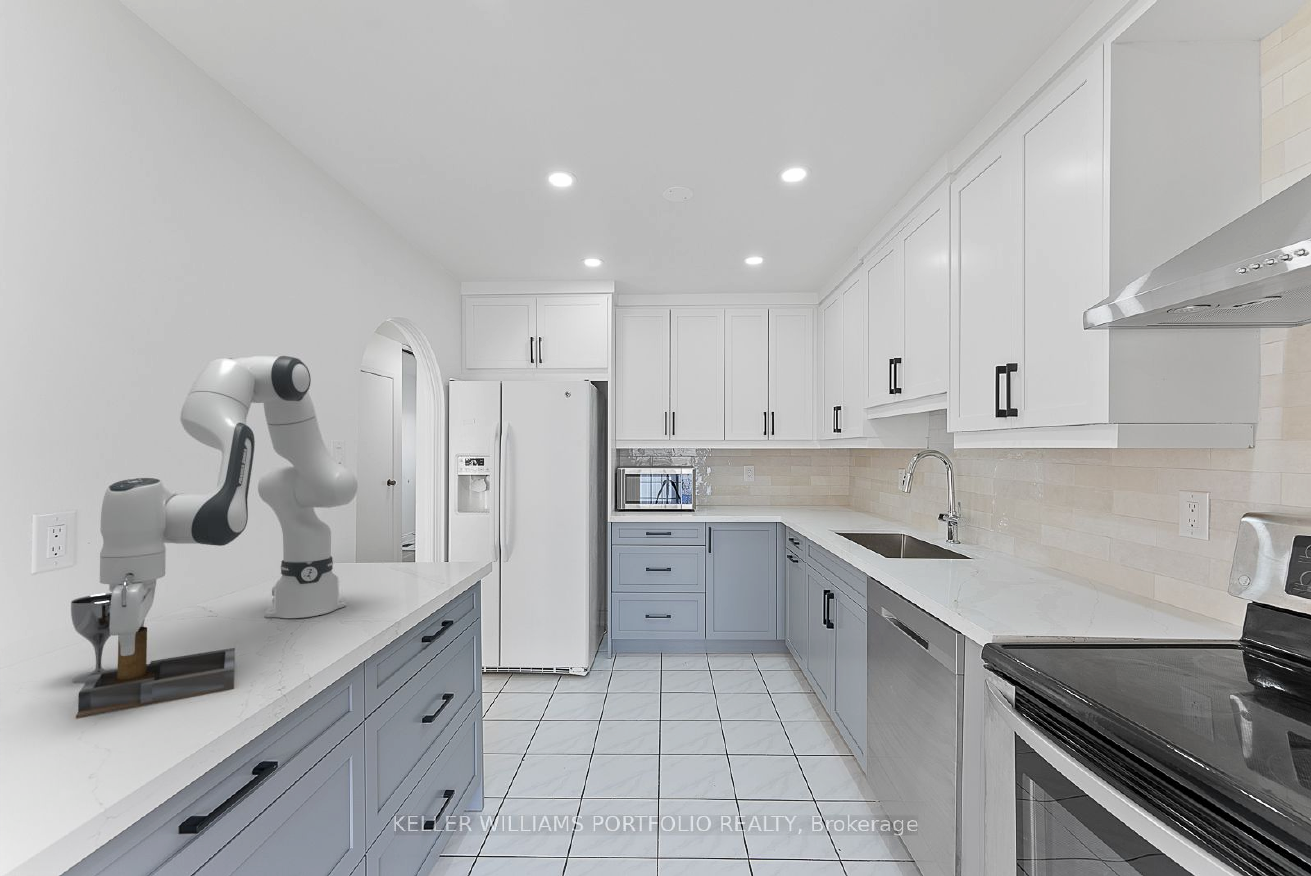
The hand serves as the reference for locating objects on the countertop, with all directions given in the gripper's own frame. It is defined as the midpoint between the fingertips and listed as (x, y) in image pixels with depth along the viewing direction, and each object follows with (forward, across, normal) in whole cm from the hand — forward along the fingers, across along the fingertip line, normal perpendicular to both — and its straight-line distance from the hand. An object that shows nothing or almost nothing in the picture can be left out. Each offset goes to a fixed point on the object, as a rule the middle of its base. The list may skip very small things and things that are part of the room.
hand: (132, 646), depth 105 cm
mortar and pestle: (+8, 0, 0) cm, 8 cm away
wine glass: (+9, +15, +6) cm, 19 cm away
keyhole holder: (+9, 0, -4) cm, 10 cm away
